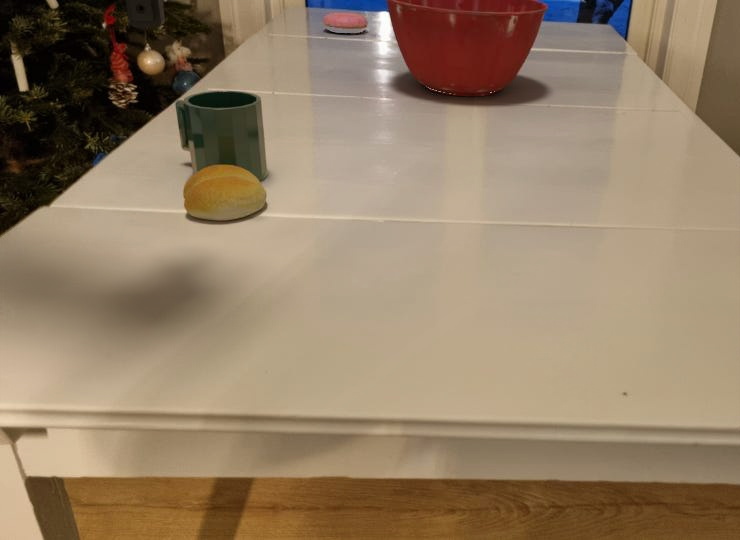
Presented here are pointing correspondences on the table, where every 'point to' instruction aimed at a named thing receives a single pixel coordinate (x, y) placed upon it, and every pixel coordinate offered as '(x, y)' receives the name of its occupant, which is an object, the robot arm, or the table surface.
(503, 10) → the mixing bowl
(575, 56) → the table surface
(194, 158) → the mug
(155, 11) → the robot arm
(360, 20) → the doughnut
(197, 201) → the bread roll
